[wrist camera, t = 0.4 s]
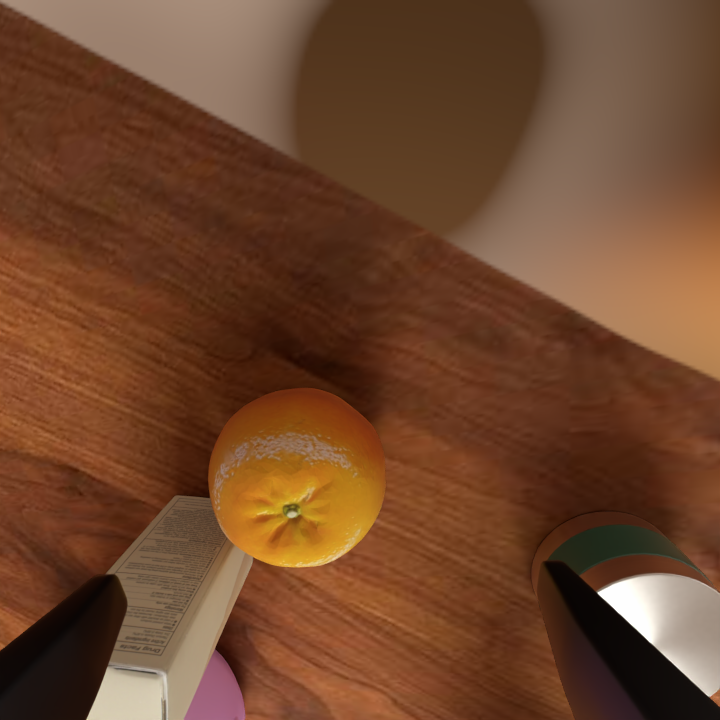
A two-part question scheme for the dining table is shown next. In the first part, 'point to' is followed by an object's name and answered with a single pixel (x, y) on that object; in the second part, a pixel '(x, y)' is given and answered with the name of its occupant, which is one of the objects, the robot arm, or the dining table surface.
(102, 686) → the box
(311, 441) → the fruit
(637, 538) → the tin can
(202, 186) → the dining table surface
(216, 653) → the teapot
